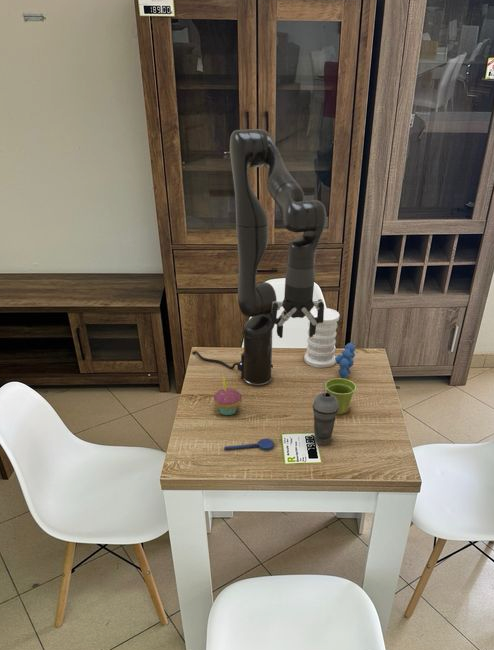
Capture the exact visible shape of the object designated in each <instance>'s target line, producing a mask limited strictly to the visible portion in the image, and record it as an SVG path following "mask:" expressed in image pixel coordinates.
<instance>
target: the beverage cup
mask: <svg viewBox="0 0 494 650" xmlns="http://www.w3.org/2000/svg"><path fill="white" fill-rule="evenodd" d="M322 382H323V383H322V384H323V385H322V386H323V387H322V388H323V392H322V393H319V394H318V395H317V396H316V397H315V398H314V400H313V403H312V412H313V413H312V414H313V436H314V442H315V443H316V444H317V445H320V446H326V445H329V444H330V442H331V439H332V435H333V431H334V426H335V422H336V417H337V416H338V414H337V412H338V409H339V406H338V401H337V399H336V397H335V396H334V395H332V394H331V393H327V391H326V387H325V384H326V378H323V381H322Z"/></svg>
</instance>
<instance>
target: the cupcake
mask: <svg viewBox="0 0 494 650" xmlns="http://www.w3.org/2000/svg"><path fill="white" fill-rule="evenodd" d="M222 383H223V388H221V389H219V390H217V391H216V392H215V393H214V394H213V403H214V404H215V405H216V406H217V408H218V410H219V412H220V414H222V415H224V416H232V415H234V414H235V413H236V411H237V409H238V406H240V405H241V403H242V402H243V396H242V394H241V393H240V392H239V391H237V389H234V388H228V387H227V385H226V384H227V383H226V376H225V375H222Z"/></svg>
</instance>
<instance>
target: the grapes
mask: <svg viewBox="0 0 494 650" xmlns="http://www.w3.org/2000/svg"><path fill="white" fill-rule="evenodd" d="M355 351H356V345H354V343H351V342H348V343H346V345H344V349H343V351H341V354H338V355H337V356H336V358H335V360H336V364H337V365H338V366H339V369H338V370H337V372H338V375H339V378H343V379H347V378H348V377H349V375H350V374H351V368H352V367H354V363H355V361H354V358H355V357H356V353H355Z"/></svg>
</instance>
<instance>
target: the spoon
mask: <svg viewBox="0 0 494 650" xmlns="http://www.w3.org/2000/svg"><path fill="white" fill-rule="evenodd" d="M274 447H275V442H274V441H273V440H272V439H270V438H262V439H260V440H259V441H258V443H250V444H249V443H247V444H241V445H240V444H239V445H230V446H229V445H228V446H224V447H223V448H224V450H226V451H229V450H238V449H249V448H250V449H251V448H259V449H260V450H262V451H271V450H273V448H274Z"/></svg>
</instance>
